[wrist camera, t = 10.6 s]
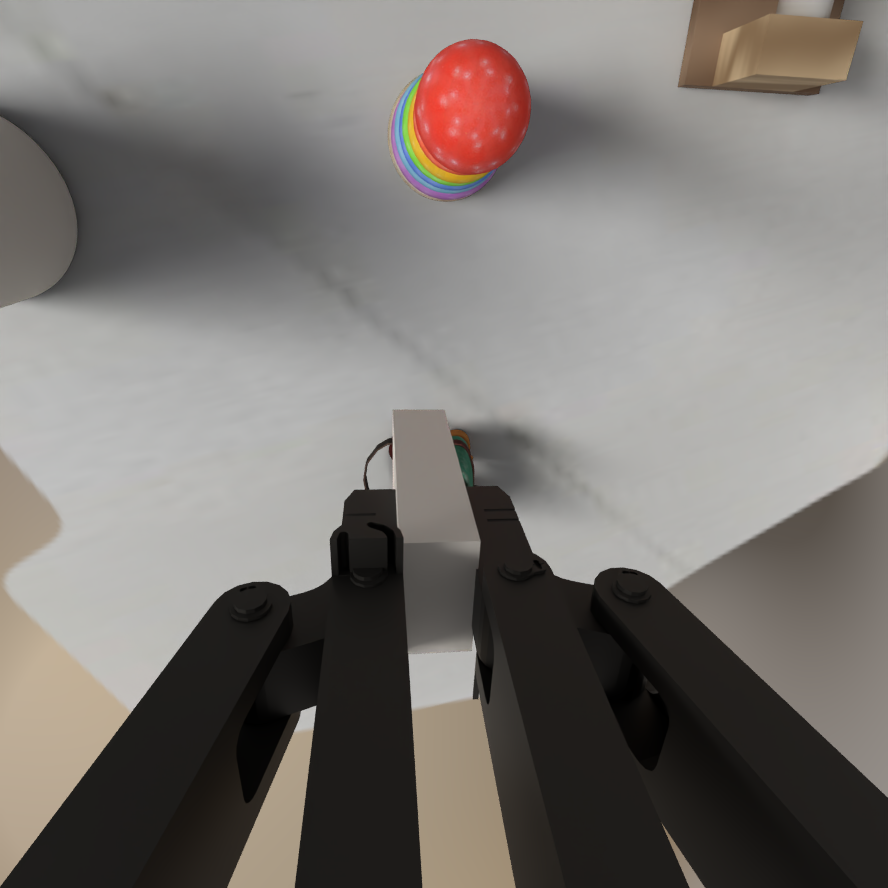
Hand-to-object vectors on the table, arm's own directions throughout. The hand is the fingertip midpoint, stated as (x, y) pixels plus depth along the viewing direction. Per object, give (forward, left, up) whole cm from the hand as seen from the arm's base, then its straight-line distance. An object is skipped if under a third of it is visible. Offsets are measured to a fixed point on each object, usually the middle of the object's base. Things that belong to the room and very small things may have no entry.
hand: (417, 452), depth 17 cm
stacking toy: (-7, +8, -30) cm, 31 cm away
